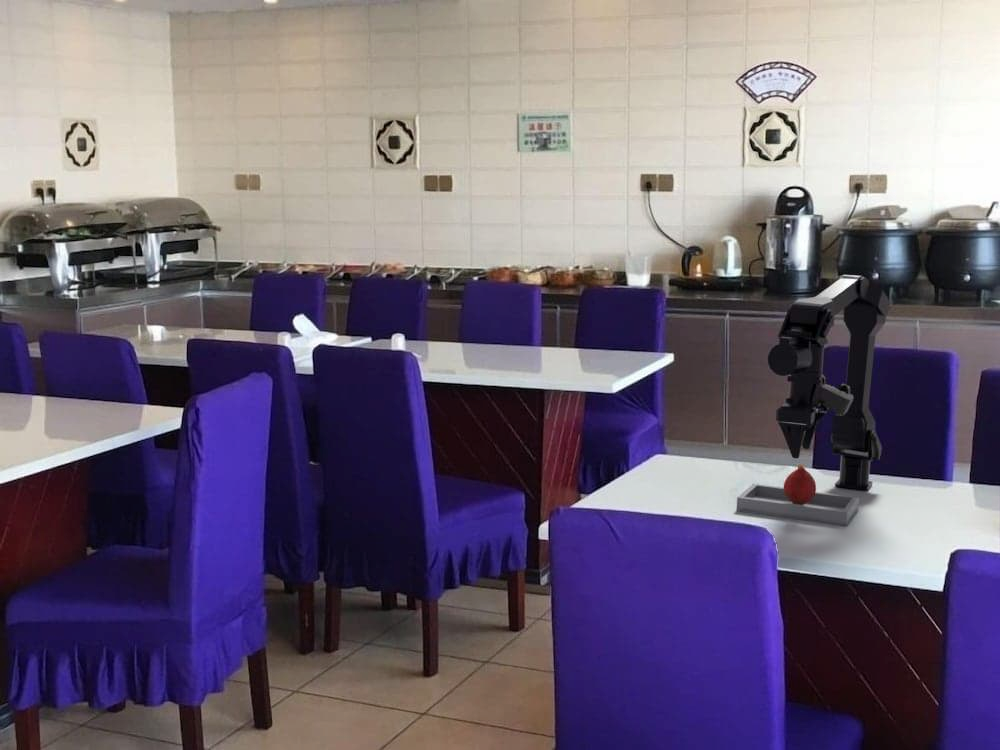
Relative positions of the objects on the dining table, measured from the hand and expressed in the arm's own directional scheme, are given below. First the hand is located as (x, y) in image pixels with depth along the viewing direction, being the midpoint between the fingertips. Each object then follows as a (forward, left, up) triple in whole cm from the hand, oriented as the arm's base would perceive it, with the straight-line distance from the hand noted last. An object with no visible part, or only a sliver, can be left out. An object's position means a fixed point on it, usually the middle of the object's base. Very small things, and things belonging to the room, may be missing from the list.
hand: (800, 453), depth 224 cm
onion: (0, 0, -11) cm, 11 cm away
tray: (0, 0, -11) cm, 11 cm away
